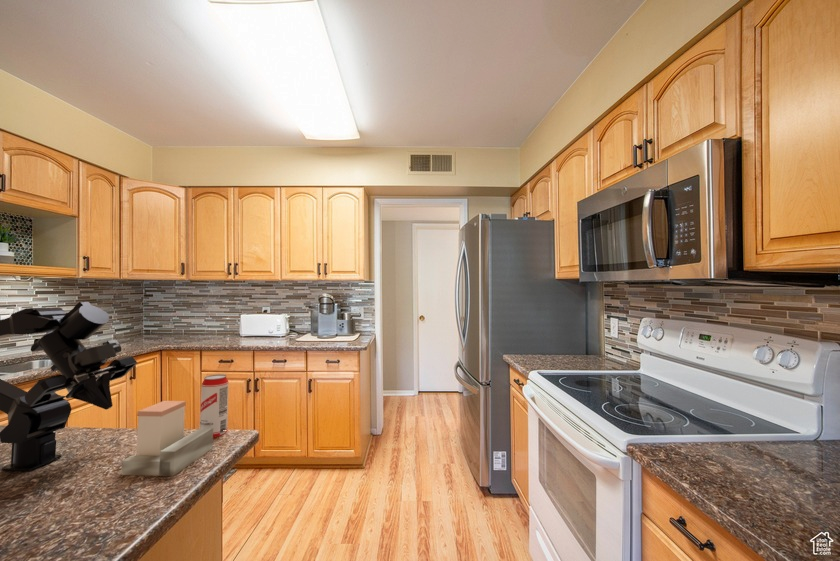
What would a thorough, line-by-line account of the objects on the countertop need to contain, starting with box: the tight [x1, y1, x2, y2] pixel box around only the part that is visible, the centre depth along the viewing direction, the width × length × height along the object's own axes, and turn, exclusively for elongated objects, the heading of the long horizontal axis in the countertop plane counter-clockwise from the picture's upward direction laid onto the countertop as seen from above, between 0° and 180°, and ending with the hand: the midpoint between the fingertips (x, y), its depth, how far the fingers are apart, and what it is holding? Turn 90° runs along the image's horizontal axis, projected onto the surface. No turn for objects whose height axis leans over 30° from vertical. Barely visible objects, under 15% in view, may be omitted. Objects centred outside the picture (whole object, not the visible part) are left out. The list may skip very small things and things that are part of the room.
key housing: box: [120, 427, 214, 477], centre depth 75 cm, size 16×18×6 cm
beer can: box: [199, 373, 230, 438], centre depth 90 cm, size 6×6×16 cm
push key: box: [136, 400, 187, 456], centre depth 75 cm, size 5×7×12 cm
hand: (109, 407), depth 75 cm, fingers closed
